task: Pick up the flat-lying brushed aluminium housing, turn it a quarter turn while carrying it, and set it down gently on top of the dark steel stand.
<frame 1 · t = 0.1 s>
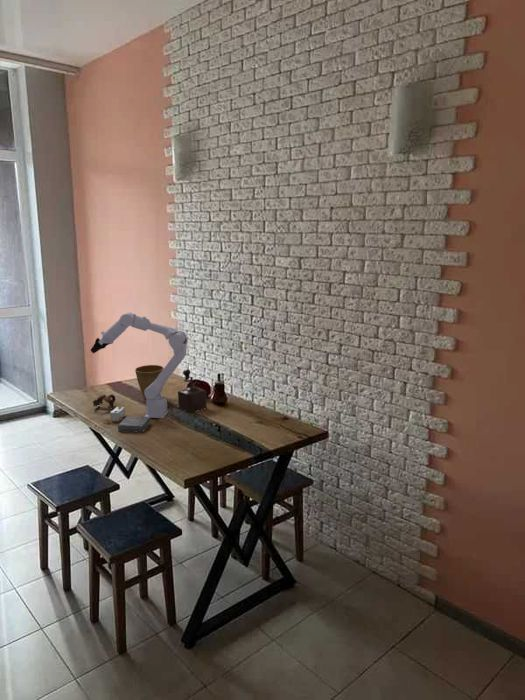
hand: (95, 349, 257), 32 cm above the table, tool tilted 50°, fingers open, 7 cm apart
manual coffee grinder: (190, 407, 273), on the table
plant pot: (150, 397, 290), on the table
stand: (134, 427, 245), on the table
housing: (118, 418, 257), on the table
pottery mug: (105, 408, 272), on the table
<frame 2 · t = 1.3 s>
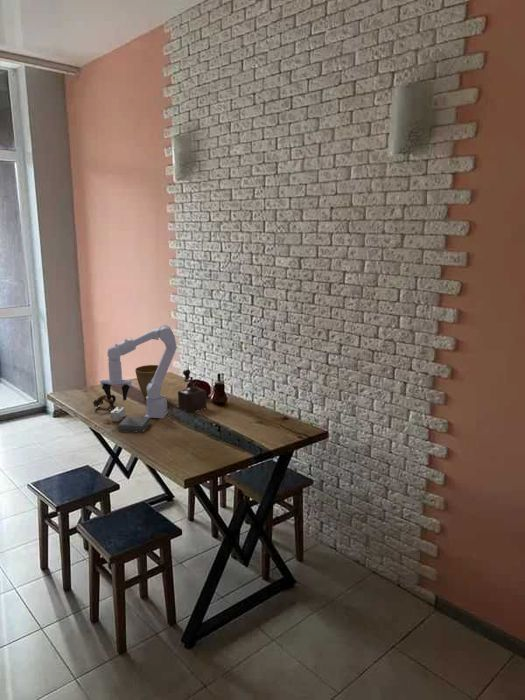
hand: (117, 399, 255), 9 cm above the table, tool pointing down, fingers open, 7 cm apart
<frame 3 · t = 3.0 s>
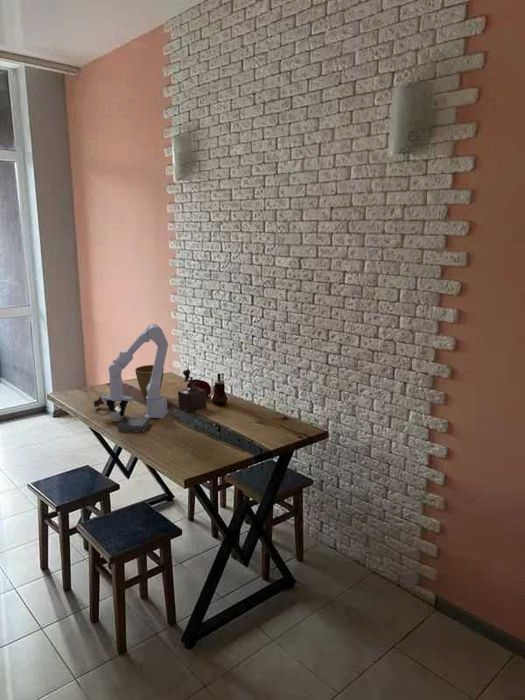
hand: (118, 415, 257), 1 cm above the table, tool pointing down, fingers closed on housing, 4 cm apart
housing: (118, 418, 257), on the table, touching gripper
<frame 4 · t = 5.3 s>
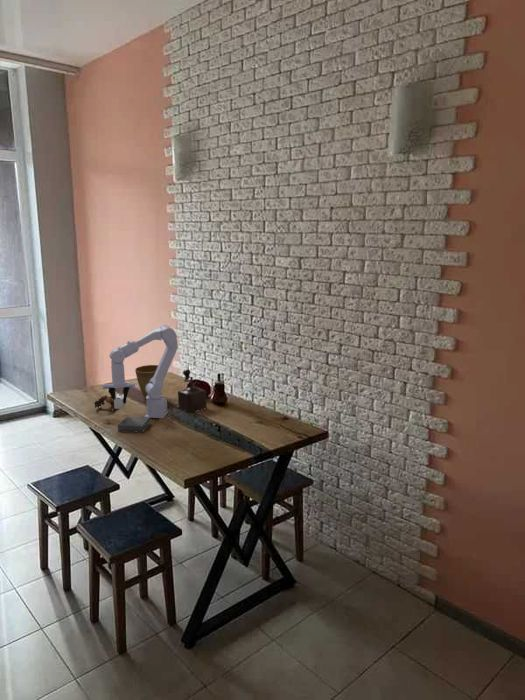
hand: (120, 403, 253), 8 cm above the table, tool pointing down, fingers closed on housing, 4 cm apart
housing: (120, 405, 254), point 7 cm above the table, touching gripper
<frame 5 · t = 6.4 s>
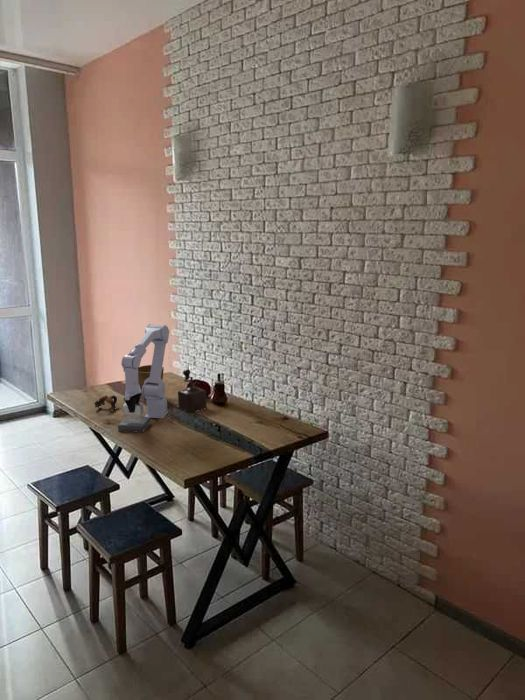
hand: (133, 410, 243), 8 cm above the table, tool pointing down, fingers closed on housing, 4 cm apart
housing: (133, 413, 244), point 7 cm above the table, touching gripper
when the fingers open (6 cm above the table, at t = 7.5 s): housing drops 1 cm, resting on stand.
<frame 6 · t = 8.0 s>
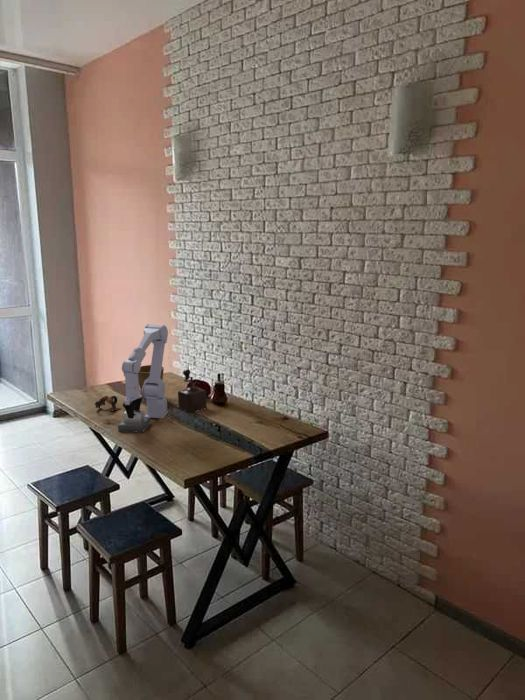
hand: (133, 415, 244), 6 cm above the table, tool pointing down, fingers open, 7 cm apart
housing: (133, 421, 244), point 3 cm above the table, touching stand
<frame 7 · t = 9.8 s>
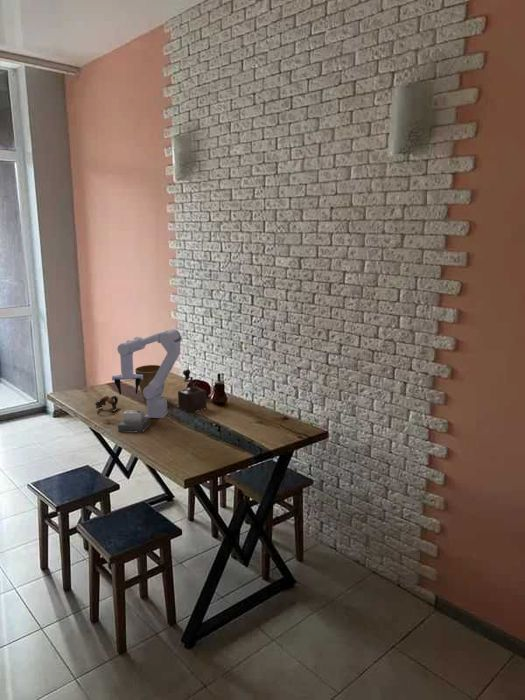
hand: (128, 393, 264), 9 cm above the table, tool pointing down, fingers open, 7 cm apart
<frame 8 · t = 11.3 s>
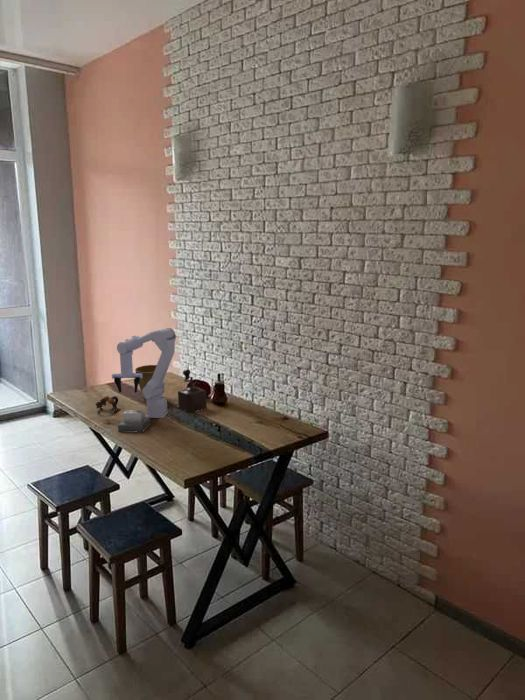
hand: (128, 392, 267), 9 cm above the table, tool pointing down, fingers open, 7 cm apart
at the end: housing 0.1 cm off-centre on the stand, point 3.0 cm above the stand's base; housing tilted 0°; the gripper is holding nothing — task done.
